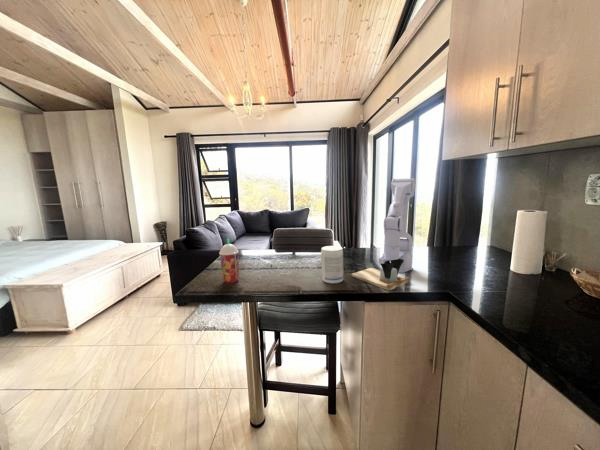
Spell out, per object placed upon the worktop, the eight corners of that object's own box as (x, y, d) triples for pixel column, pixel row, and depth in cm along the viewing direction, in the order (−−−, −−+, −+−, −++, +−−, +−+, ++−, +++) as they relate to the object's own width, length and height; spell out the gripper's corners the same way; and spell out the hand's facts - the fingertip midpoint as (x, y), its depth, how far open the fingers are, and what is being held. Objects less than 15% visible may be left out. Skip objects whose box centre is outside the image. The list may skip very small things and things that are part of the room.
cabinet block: (386, 276, 106) (387, 264, 105) (396, 280, 102) (397, 267, 101) (380, 279, 104) (380, 266, 103) (390, 282, 100) (390, 269, 99)
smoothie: (244, 278, 111) (241, 236, 108) (232, 285, 104) (229, 240, 101) (230, 276, 115) (227, 235, 112) (217, 283, 108) (213, 239, 104)
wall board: (371, 269, 119) (371, 265, 119) (409, 282, 103) (409, 277, 102) (351, 276, 112) (351, 271, 111) (388, 290, 95) (388, 285, 95)
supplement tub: (347, 280, 106) (348, 248, 104) (331, 286, 101) (331, 252, 99) (333, 274, 114) (333, 244, 112) (317, 279, 109) (316, 247, 107)
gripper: (394, 241, 107) (393, 270, 109) (372, 246, 99) (372, 277, 101) (409, 243, 101) (407, 274, 103) (387, 249, 93) (386, 283, 95)
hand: (391, 276), depth 102 cm, fingers closed on cabinet block, 4 cm apart
